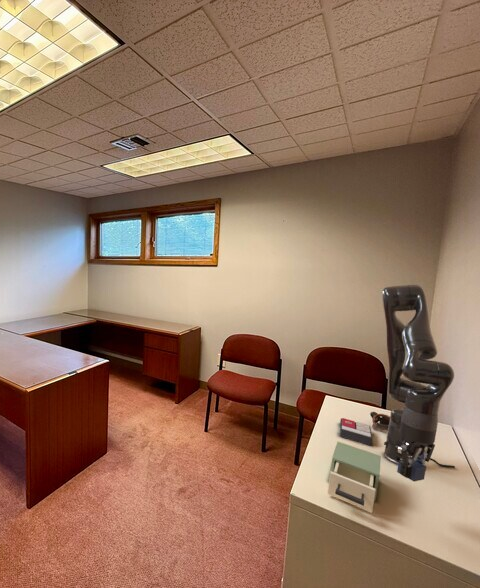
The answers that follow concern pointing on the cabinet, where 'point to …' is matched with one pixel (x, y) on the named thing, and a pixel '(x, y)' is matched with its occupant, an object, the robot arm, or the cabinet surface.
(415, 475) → the block
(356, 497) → the drawer
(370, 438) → the red and grey box
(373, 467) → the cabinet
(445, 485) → the cabinet surface
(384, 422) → the pottery mug
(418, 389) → the robot arm
